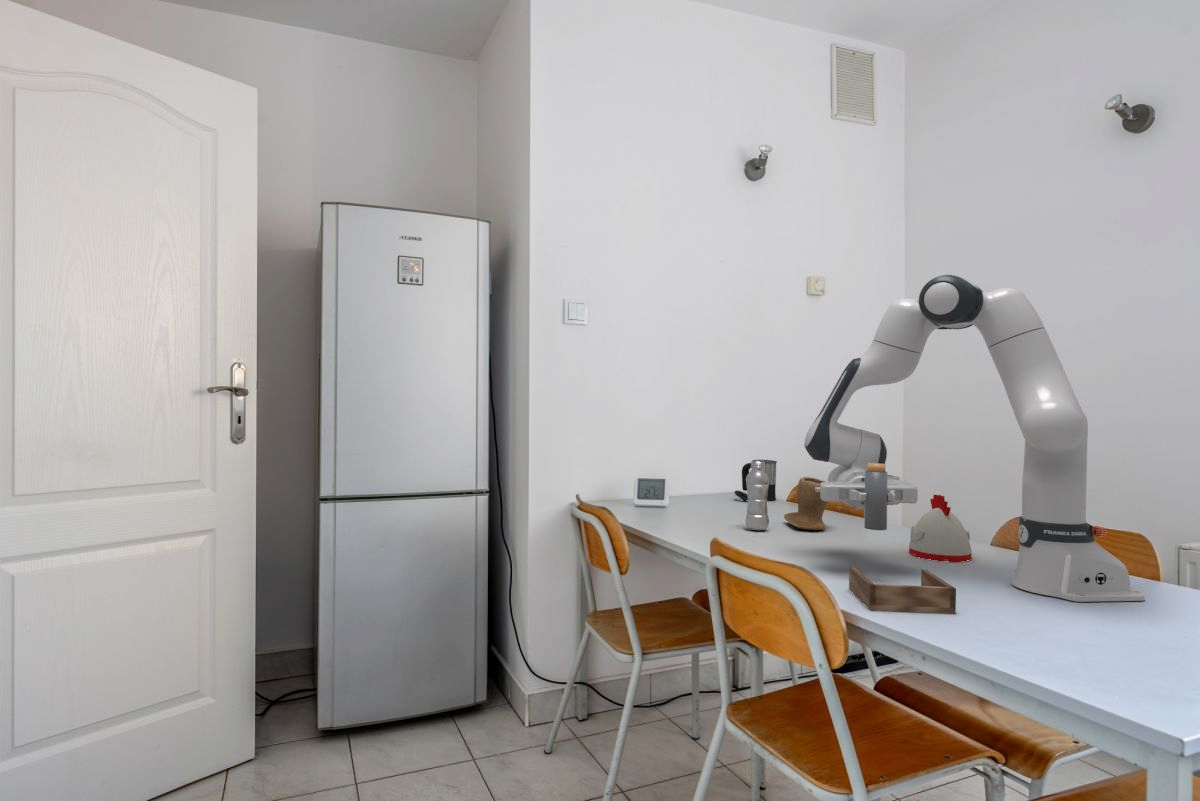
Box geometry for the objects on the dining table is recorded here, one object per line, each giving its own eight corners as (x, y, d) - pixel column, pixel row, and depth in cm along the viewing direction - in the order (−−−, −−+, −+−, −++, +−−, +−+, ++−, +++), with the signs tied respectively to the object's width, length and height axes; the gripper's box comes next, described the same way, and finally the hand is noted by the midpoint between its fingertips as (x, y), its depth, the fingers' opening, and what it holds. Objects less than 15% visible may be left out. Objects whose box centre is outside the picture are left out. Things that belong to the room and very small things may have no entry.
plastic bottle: (769, 533, 199) (770, 462, 199) (745, 531, 200) (746, 461, 200) (768, 529, 205) (769, 460, 205) (744, 527, 207) (746, 459, 207)
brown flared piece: (835, 533, 201) (836, 480, 200) (793, 532, 201) (794, 480, 201) (821, 523, 216) (822, 475, 216) (782, 522, 216) (783, 474, 216)
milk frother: (778, 499, 268) (779, 460, 268) (770, 504, 253) (771, 463, 253) (741, 496, 274) (742, 458, 274) (731, 501, 259) (732, 461, 259)
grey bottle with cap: (883, 526, 150) (883, 463, 150) (889, 530, 146) (890, 465, 146) (861, 526, 150) (862, 462, 150) (867, 530, 146) (868, 464, 146)
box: (926, 592, 140) (926, 569, 140) (955, 613, 126) (956, 588, 126) (849, 589, 141) (849, 566, 141) (869, 610, 127) (870, 585, 127)
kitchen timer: (952, 550, 180) (953, 491, 180) (983, 562, 167) (984, 499, 167) (899, 549, 180) (900, 491, 180) (925, 562, 166) (926, 499, 166)
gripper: (812, 474, 162) (826, 481, 148) (904, 476, 160) (927, 483, 146) (812, 501, 162) (826, 511, 148) (904, 503, 160) (926, 513, 146)
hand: (877, 497), depth 147 cm, fingers closed on grey bottle with cap, 4 cm apart
